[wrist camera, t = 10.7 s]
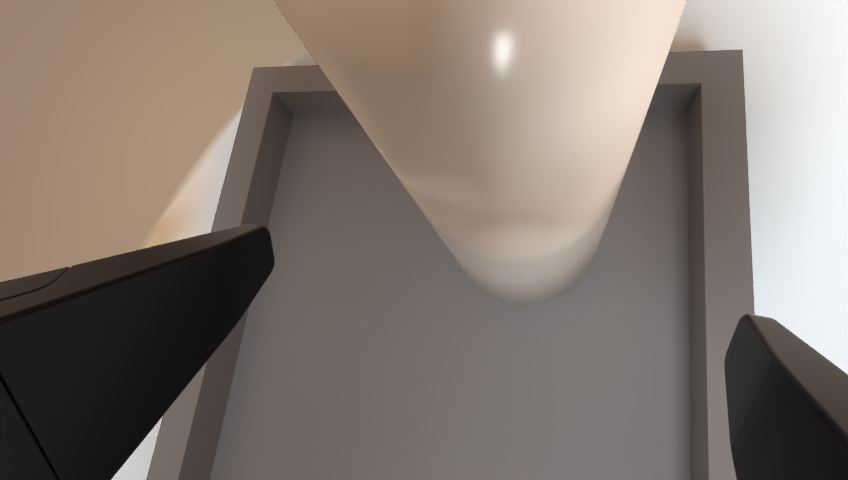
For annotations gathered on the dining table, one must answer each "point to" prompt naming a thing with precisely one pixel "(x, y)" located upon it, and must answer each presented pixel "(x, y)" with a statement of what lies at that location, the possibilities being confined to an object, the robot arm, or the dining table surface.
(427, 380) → the tray
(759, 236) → the dining table surface
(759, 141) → the dining table surface
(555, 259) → the canister
